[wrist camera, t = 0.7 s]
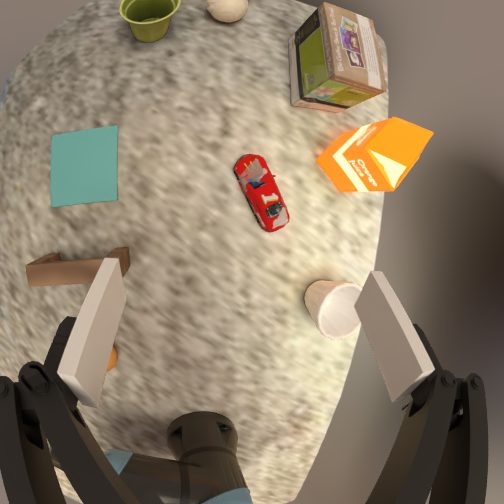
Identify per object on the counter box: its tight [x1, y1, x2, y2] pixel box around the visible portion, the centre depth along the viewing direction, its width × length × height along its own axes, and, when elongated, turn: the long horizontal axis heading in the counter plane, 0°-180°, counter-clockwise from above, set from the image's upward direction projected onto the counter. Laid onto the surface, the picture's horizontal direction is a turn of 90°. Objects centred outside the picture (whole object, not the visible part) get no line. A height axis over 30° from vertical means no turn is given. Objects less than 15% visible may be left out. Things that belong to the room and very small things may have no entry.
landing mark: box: [51, 126, 118, 207], centre depth 37 cm, size 12×12×1 cm
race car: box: [234, 154, 289, 232], centre depth 44 cm, size 13×5×4 cm, turn 24°
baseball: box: [207, 0, 248, 22], centre depth 35 cm, size 7×7×7 cm
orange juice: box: [316, 117, 433, 192], centre depth 40 cm, size 8×9×20 cm
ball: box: [106, 347, 117, 372], centre depth 40 cm, size 6×6×6 cm
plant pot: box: [120, 0, 180, 42], centre depth 31 cm, size 9×9×9 cm
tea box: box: [288, 2, 386, 113], centre depth 38 cm, size 15×10×15 cm, turn 0°
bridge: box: [25, 247, 130, 287], centre depth 36 cm, size 3×14×9 cm, turn 91°
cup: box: [304, 280, 363, 340], centre depth 48 cm, size 10×10×9 cm
